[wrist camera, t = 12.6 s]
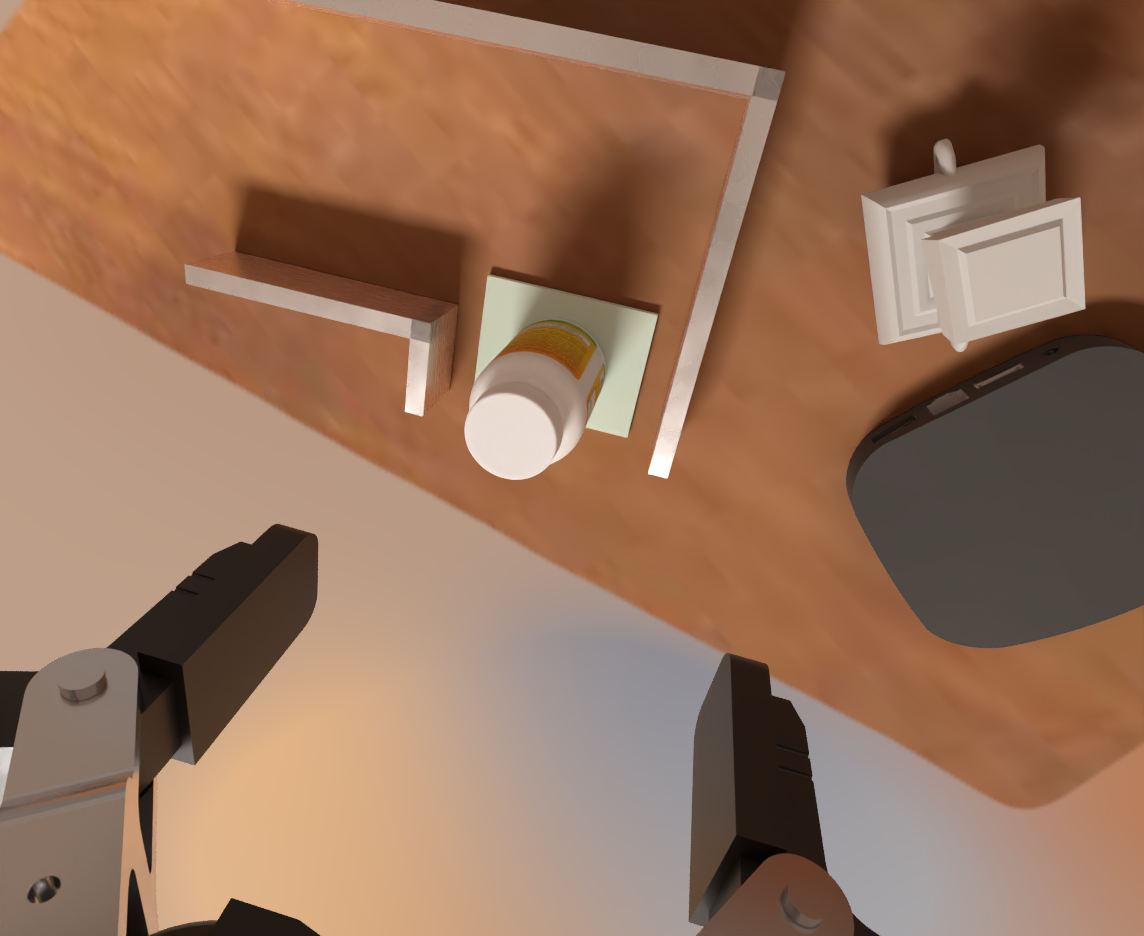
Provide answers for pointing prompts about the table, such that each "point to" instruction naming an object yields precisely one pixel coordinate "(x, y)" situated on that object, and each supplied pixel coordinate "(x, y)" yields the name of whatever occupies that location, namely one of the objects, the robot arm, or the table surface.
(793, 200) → the table surface
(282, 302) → the channel
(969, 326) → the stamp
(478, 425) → the supplement bottle
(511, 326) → the pad
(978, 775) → the table surface
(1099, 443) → the media streaming box
